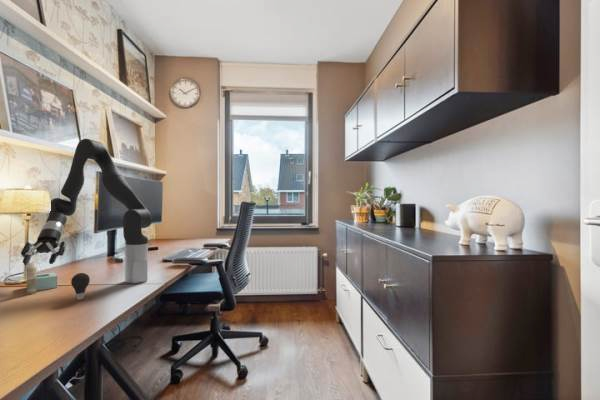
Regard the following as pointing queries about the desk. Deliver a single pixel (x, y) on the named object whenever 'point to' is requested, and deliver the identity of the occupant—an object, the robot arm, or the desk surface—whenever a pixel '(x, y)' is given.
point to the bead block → (46, 281)
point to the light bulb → (80, 284)
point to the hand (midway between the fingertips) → (38, 263)
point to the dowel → (31, 278)
